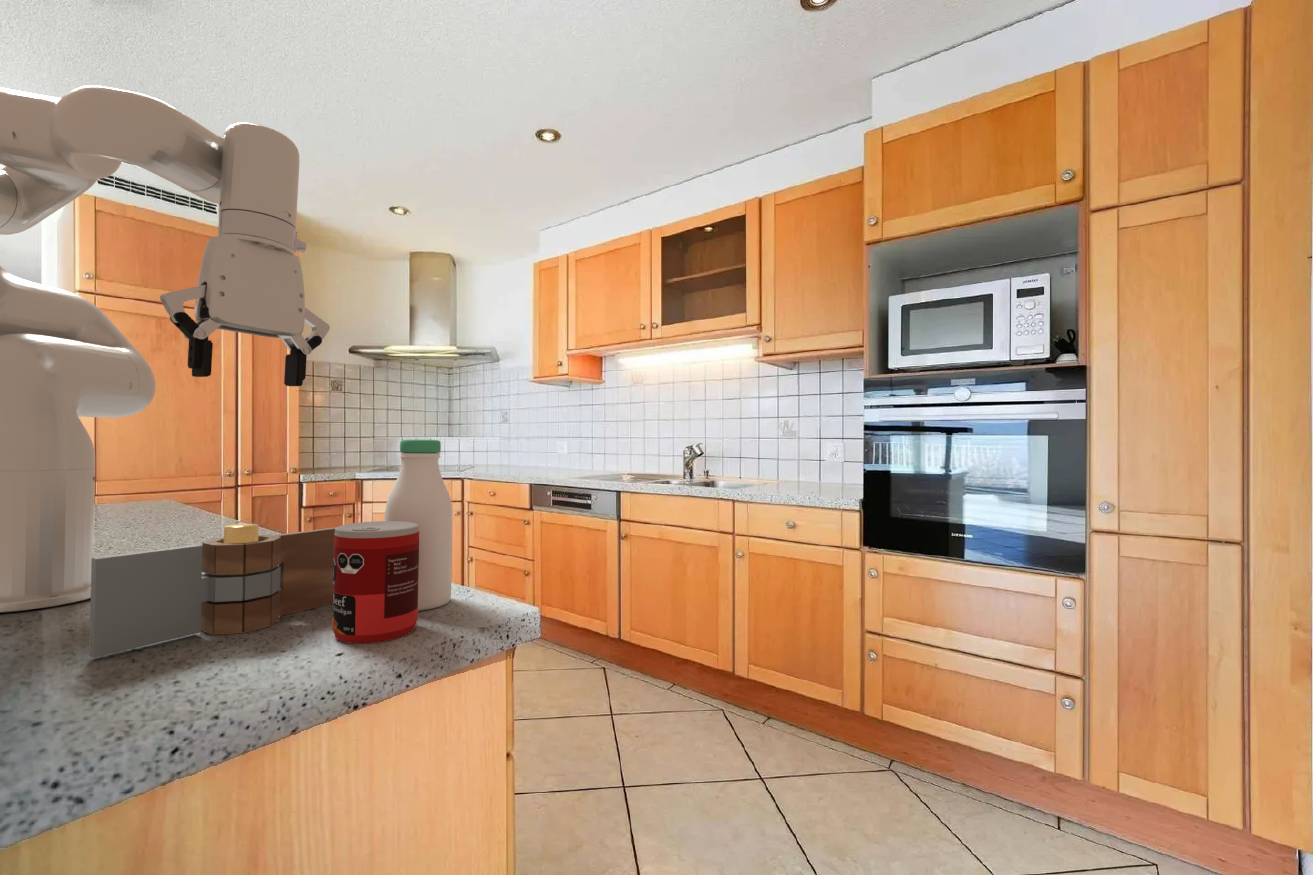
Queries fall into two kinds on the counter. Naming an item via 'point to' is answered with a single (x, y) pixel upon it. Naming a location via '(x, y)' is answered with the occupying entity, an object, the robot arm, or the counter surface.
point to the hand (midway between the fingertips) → (249, 381)
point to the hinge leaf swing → (160, 596)
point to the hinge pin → (241, 537)
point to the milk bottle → (425, 517)
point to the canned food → (375, 581)
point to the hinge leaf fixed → (295, 553)
